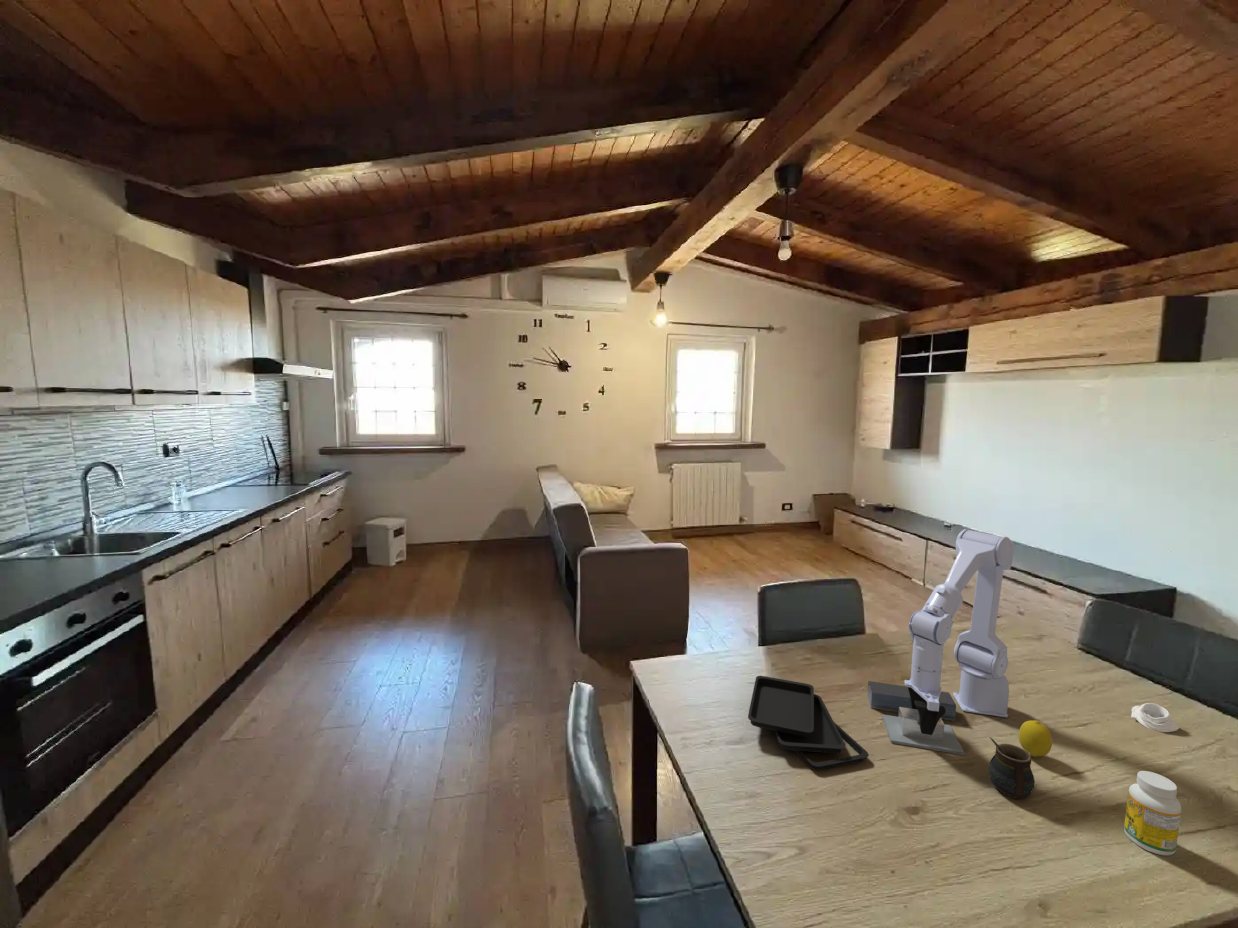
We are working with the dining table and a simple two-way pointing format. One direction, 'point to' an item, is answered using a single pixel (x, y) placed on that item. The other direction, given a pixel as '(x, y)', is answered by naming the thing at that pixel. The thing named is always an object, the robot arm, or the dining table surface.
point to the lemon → (1035, 738)
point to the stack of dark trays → (799, 720)
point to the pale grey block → (917, 725)
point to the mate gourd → (1011, 771)
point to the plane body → (903, 698)
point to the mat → (948, 744)
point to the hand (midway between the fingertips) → (921, 723)
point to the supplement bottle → (1153, 813)
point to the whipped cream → (1154, 717)
